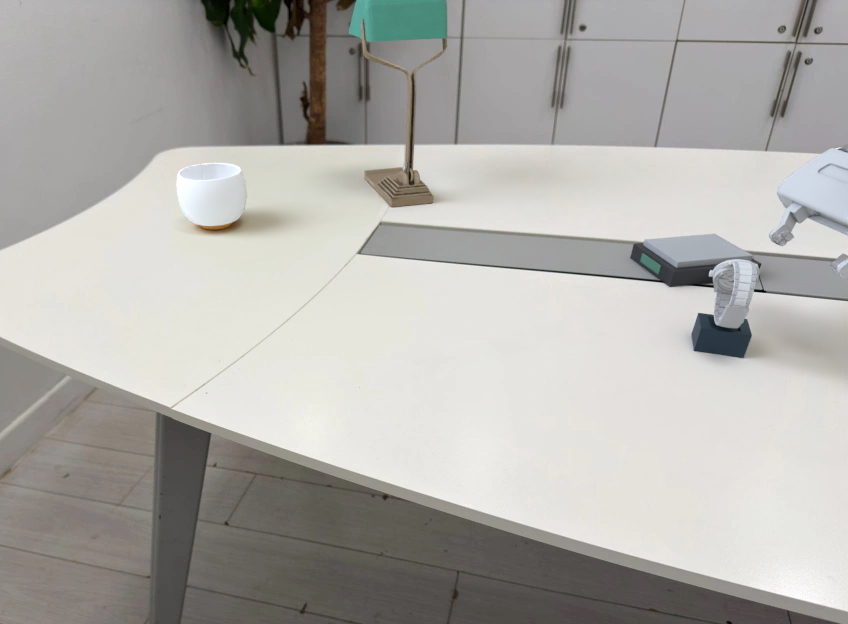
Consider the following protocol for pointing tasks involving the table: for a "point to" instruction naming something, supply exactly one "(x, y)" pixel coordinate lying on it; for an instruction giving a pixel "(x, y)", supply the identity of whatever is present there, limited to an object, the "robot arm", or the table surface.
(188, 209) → the cup
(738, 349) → the watch
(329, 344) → the table surface
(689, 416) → the table surface
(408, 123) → the banker's lamp
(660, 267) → the scale
